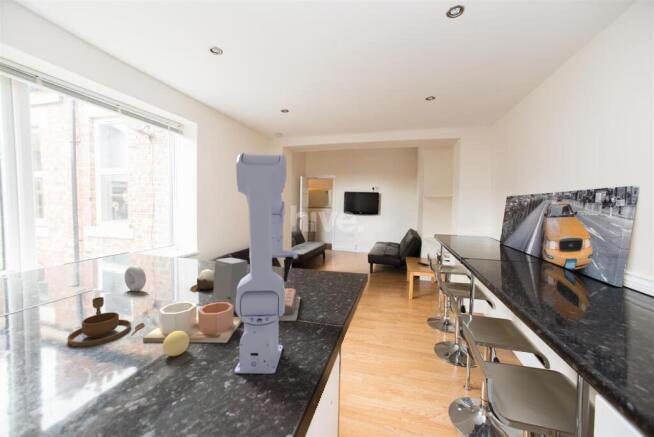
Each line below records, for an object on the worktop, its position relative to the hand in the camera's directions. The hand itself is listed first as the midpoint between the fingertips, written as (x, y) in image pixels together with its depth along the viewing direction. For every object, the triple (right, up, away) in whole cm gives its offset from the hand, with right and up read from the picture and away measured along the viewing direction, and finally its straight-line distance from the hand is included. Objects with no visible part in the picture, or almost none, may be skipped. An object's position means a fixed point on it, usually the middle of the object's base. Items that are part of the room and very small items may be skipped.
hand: (273, 280), depth 78 cm
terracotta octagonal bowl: (-13, -10, -12) cm, 20 cm away
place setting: (-42, -11, -11) cm, 44 cm away
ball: (-16, -8, -23) cm, 29 cm away
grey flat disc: (-57, -9, +18) cm, 60 cm away
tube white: (-23, -10, -12) cm, 27 cm away
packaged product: (+3, -11, +3) cm, 11 cm away
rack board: (-18, -10, -12) cm, 23 cm away
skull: (-32, -9, +23) cm, 40 cm away
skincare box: (-15, -10, +3) cm, 18 cm away
